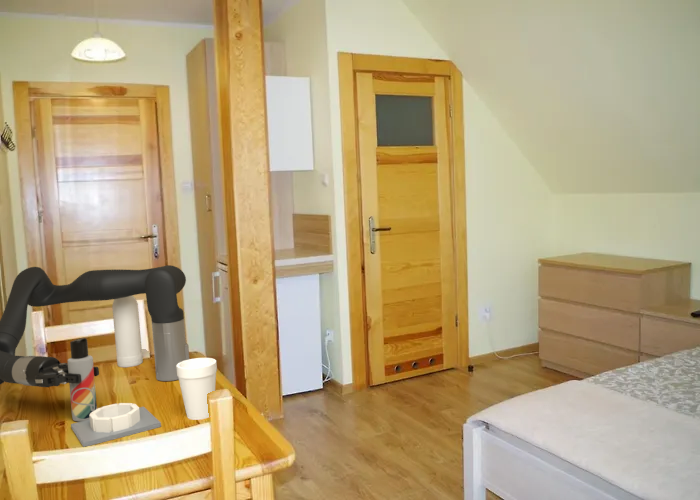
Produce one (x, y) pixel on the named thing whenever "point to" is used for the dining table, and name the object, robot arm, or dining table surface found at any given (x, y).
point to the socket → (114, 423)
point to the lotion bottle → (82, 381)
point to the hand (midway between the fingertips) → (88, 375)
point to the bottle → (127, 332)
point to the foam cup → (197, 385)
